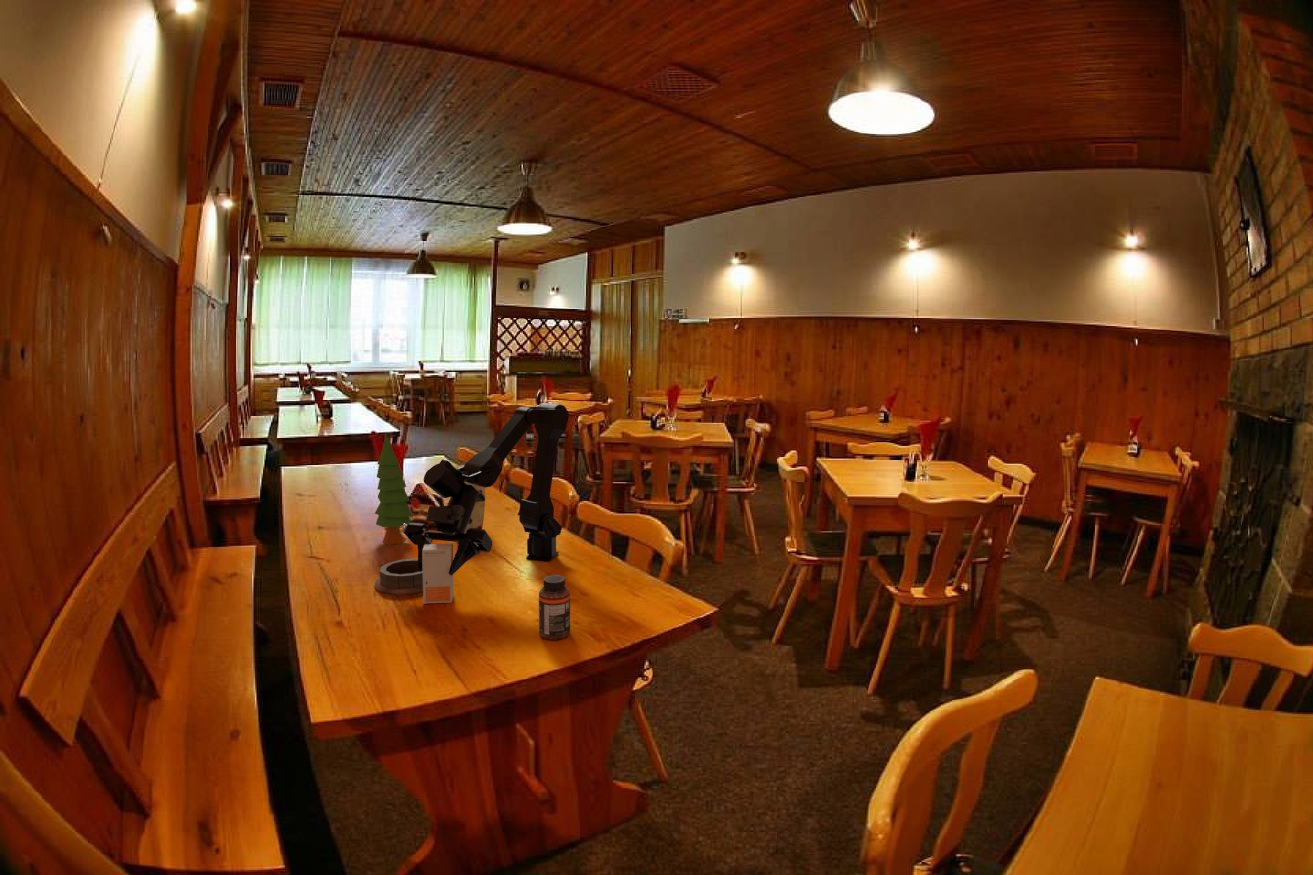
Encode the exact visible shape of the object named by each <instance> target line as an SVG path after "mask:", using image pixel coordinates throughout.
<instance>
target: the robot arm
mask: <svg viewBox="0 0 1313 875" xmlns="http://www.w3.org/2000/svg"><path fill="white" fill-rule="evenodd" d="M569 416H570V412H569V410H568V409H567V407H566V406H565V405H563V404H561V403H560V404H559V403H549V402H541V403H540V404H539V405H538V406H528V407H526V406H525V407H524V406H520V407H517V408H516V409H515V410H514V412H513V415H512V416H511V417H510V418H509V420H508V421H507V423H506V424H505V425H503V427H502V428H501V429H500V431H499V433H498V434H497V435H496V436H495V437H494V439H493V440H492V441H491V442H490V443H489V445H488V446H487V447H485V449H484V450H481V451H480V452H478V453H476V454H474V455H473V456H472V457H471V458H470V459H469V460H467V462H465V464H463V465H464V466H463V467H460V468H458V469H456V466H454V465H453V464H452V463H451V462H450V461H449V460H446V459H441V460H440V462H439V463H437V464H434V465H433V466H432V467H430V468H429V469H427V471H426V472H425V474H424V476H423V483H424V485H426V486H427V487H429V488H430V489H431V490H432V491H434V493H436V494H437V495H439V496H440V497H441V498H442V499H449V500H448V503H447V505H443V506H439V505H438V506H435V505H429V506H428V509H427V514H426V519H425V521H426V522H431V523H432V526H433V527H434V528H436V530H432V529H431V530H430V528H429V527H428V526H427V525H426V524H425V523H420V522H411V523H409V524H406V526H405V528H404V531H403V534H404V535H405V536H406V538H408V539H409V541H410V542H411V543H413V545H415V546H417V559H418V568H417V569H418V571H419V572H421V571H422V570H423V568H422V550H423V547H424V545H426V544H433V543H432V542H433V540H434V541H445V542H452V543H453V542H454V543H458V544H457V549H456V552H455V554H454V556H453V562H452V564H451V567H450V570H449V574H450V575H453V576H454V575H455V573H456V572H458V571H459V569H460V568H462V567H463V566H464V565H465V564H466V563H467V562H469V560H471V559H472V558H474V556H476V555H480V553H481V552H484V553H490V552H491V551H492V547H493V540H492V539H491V537H490V535H489V534H488V533H487V531H486V529H483V528H482V529H475V528H470V529H468V530H467V532H466V534H464V533H465V531H466V528H467V525H468V524H471V523H472V521H473V520H472V519H471V515H472V512H473V509H474V507H475V504H476V502H482V501H485V502H486V496H485V497H484V495H483V493H482V490H477V489H476V488H474V487H473V486H472V485H467V484H465V483H464V481H465V482H467V483H469V484H473V485H477V486H481V487H485V488H491V487H492V486H493V485H495V484H496V482H497V480H498V478H499V477H500V475H501V473H502V471H503V466H504V462H505V460H506V459H507V457H508V456H509V454H510V453H511V452H512V451H513V449H514V448H515V447H516V445H518V443H519V442H520V440H521V439H522V438H523V437H524V435H525V434H527V432H528V430H529V429H530V427H531V426H532V425H533V424H534V428H535V432H536V433H537V438H538V439H537V444H536V452H535V456H534V457H535V458H534V464H533V471H532V478H531V486H530V492H529V494H528V495H527V497H526V499H523V498H522V499H520V501H519V509H518V512H517V516H519V518H518V519H519V523H520V524H521V525H522V527H523V529H524V532H525V533H528V538H527V539H526V550H527V551H526V553H527V556H526V557H525V559H526V560H534V561H545V562H550V561H552V560H553V559H554V558H555V557H557V556H558V555H559V552H560V551H557V537H558V536H561V533H562V529H563V526H562V525H561V524H560V523H559V522H558V521H557V520H556V519H555V518H554V517H555V516H554V515H555V512H554V511H555V507H554V505H553V502H552V499H551V491H552V484H553V476H554V469H555V462H556V456H557V450H558V443H559V440H560V438H561V437H562V435H564V433H565V432H566V429H567V426H568V422H569V419H570V417H569Z"/></svg>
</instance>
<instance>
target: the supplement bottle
mask: <svg viewBox="0 0 1313 875" xmlns="http://www.w3.org/2000/svg"><path fill="white" fill-rule="evenodd" d="M538 631H539V633H538V634H539V635H540V637H541V638H544V639H545V640H550V641H557V640H563V639H565V638H567V637H568V636H569V635H570V633H571V592H570V589H569V588H568V587H567V586H566V577H564V576H562V575H560V574H552V575H546V576H545V577H544V578H543V587H541V589H540V590H539V592H538Z"/></svg>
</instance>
